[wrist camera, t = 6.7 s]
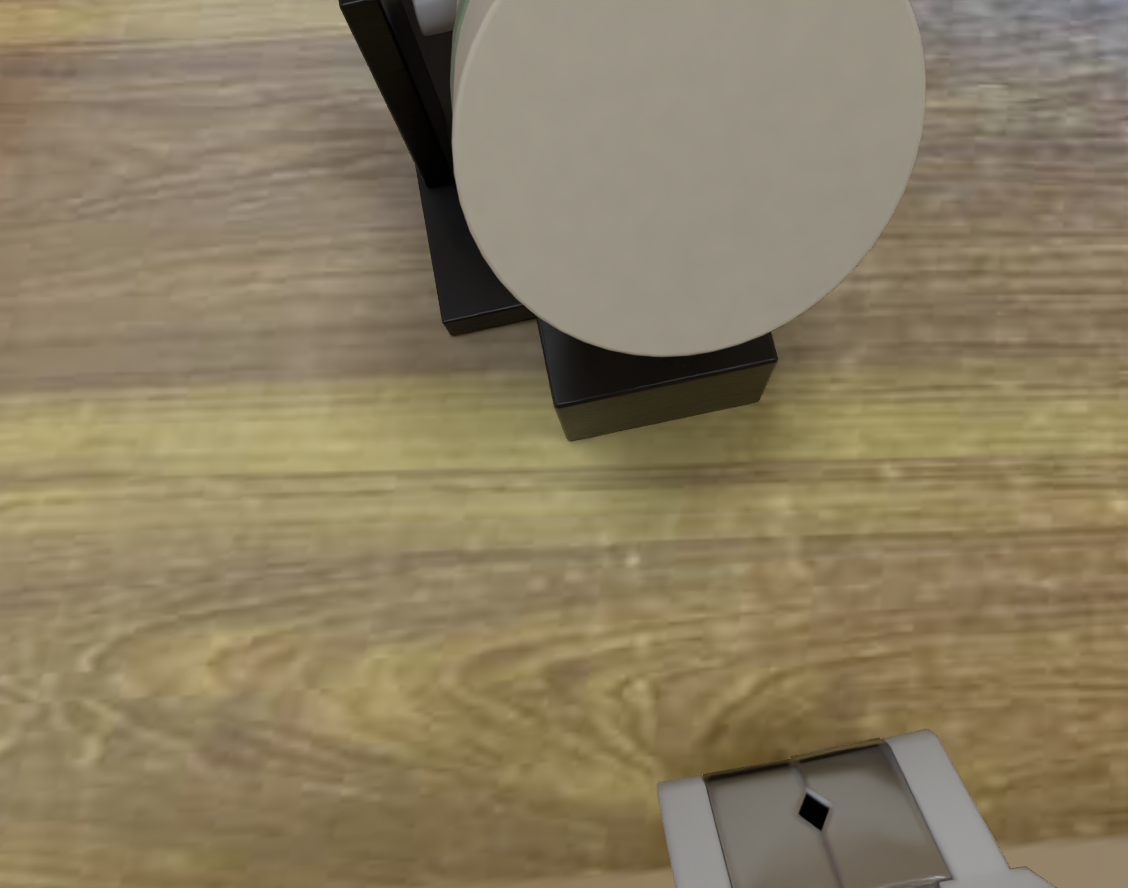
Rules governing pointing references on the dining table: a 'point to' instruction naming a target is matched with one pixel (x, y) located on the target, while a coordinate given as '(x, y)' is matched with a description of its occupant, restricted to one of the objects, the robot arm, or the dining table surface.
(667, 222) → the beige green-banded cylinder
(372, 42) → the stand
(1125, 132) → the dining table surface
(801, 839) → the robot arm
